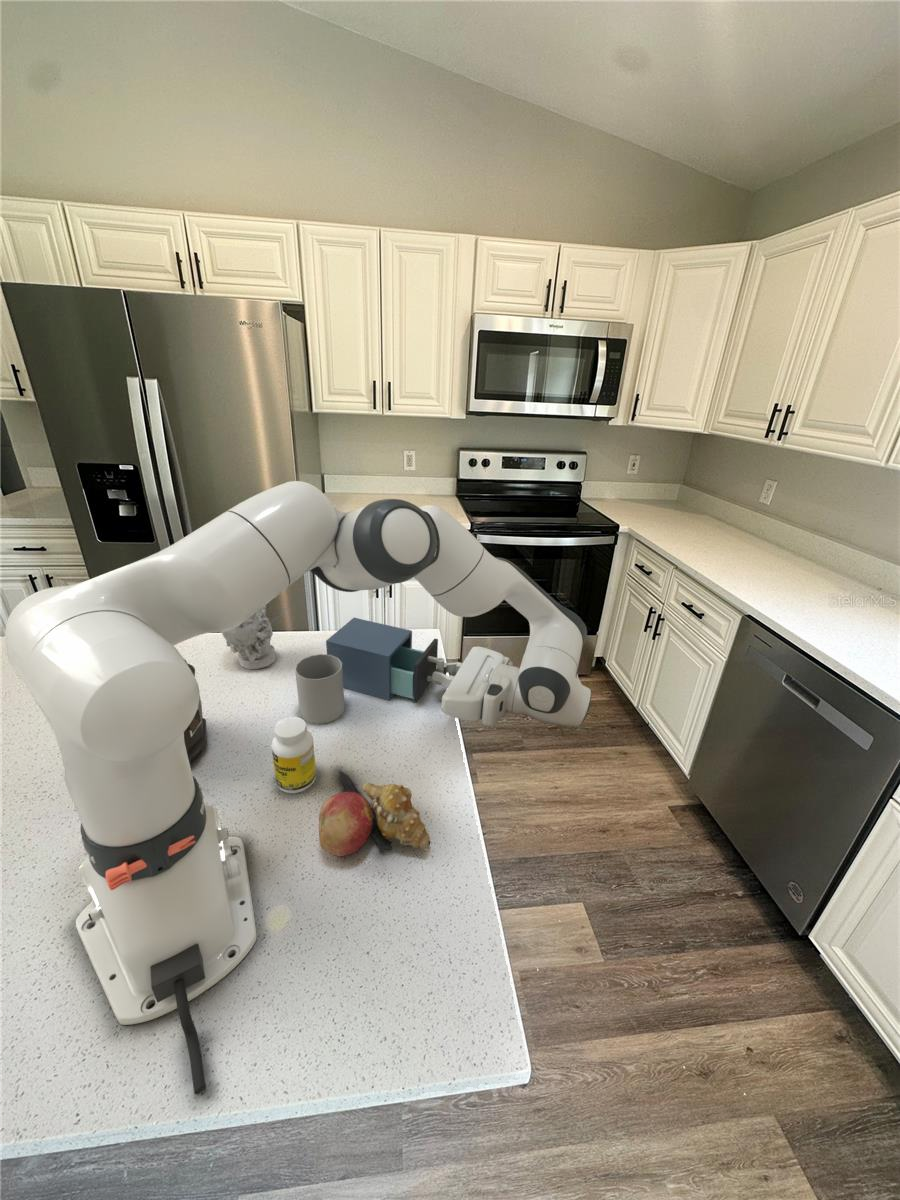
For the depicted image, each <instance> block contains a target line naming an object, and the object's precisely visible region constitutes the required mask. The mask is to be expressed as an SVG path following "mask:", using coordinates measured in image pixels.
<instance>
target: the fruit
mask: <svg viewBox="0 0 900 1200" xmlns="http://www.w3.org/2000/svg"><path fill="white" fill-rule="evenodd" d="M373 815H374V811H372V807H371V804H370V802H369V801H368V799H367V798H365V796H364V795H362V794H361V795H360V794H359V793H355V792H347V791H342V792H339V793H336V794H333V795H331V796H330V797H328V798H327V799H326V800H325V801H324V802H323V803H322V805H321V808H320V811H319V815H318V835H319V846H320V847H321V848H322V850H324V851H325V852H327V853H329V854H331V855H334V856H339V857H344V856H347V855H349V854H353V853H355V852H357V851H358V850H360V848H361V847H363V846H364V844H365V843H366V842H367V840H368V838H369V836H370V835H371V833H370V832H371V829H372V827H373V824H374V817H375V816H373Z"/></svg>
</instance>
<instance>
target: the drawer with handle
mask: <svg viewBox="0 0 900 1200" xmlns="http://www.w3.org/2000/svg"><path fill="white" fill-rule="evenodd" d="M438 646H439V639H438V638H434V639H432V641H431V642H430V644H429V645H427V647H426V649H424V650H419V649H415V648H413V647H412V648H407V647H403V646H401V647H400V648H399V649H398V650H397V651H396V652H395V653H394V655H393V656H392V657H391V693H393V694H394V695H397V696H401V697H404V698H408V699H411V700H412V701H413V704H418V703H419V701H420V700H421V699H422V697H423V696H424V694H425V693H426V691H427V690H428V688H429V687H430V685H431V684H432V683H433V684H436V685H438V686H441V685H443V684H442V683H441V682H439V681H435V680H433V679H432V675H433V673H434V671H435V670H436V669H438V670H442V671H443V674H444V663H445V658H443V657H438V651H439V650H438Z"/></svg>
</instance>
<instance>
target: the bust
mask: <svg viewBox="0 0 900 1200" xmlns="http://www.w3.org/2000/svg"><path fill="white" fill-rule="evenodd" d="M307 594H308V592H306V593H305V594H304V596H306V595H307ZM302 598H303V596H301V597H299V599H298V600H296V601H295V602H294V603H293V604H292V605H290V606H289V607H287V610H289V609H290V608H291V607H292V606H294V605H295V604H296V603H297V602H298V601H300V600H301V599H302ZM266 605H267V604H266ZM266 605H265V606H263V607H262V608H261V609H260V610H258V611H257V612H256V613H255V614H253V615H252V616H251V617H250V618H248V619H247V620H246V621H244V622H243V623H242V624H241V625H239V626H237V627H235V628H233V629H230V630H227V631H222V632H220V633H221V635H222V636H223V638H224V639H225V643H226V647H229V648H230V652H232V653H234V654H236V653H238V661H239V665H240V666H241V667H242V668H245V669H250V670H258V669H259V670H260V669H264V668H266V667H269V666H271V665H273V663H274V662H275V661H276V658H277V657H276V649H275V647H274V646H273V645H272V644H271V639H272V637H273V634H274V633H273V632H274V631H273V628H272V627H273V626H272V623H273V622H274V621H275V620H277V619H278V618H279V617H281V615H282V614H284V613H285V612H286V610H284V611H282V613H281V614H280V615H278V616H277V617H276V618H275V619H273V620H272V621H270V619H269V618H268V617H267V606H266Z"/></svg>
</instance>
